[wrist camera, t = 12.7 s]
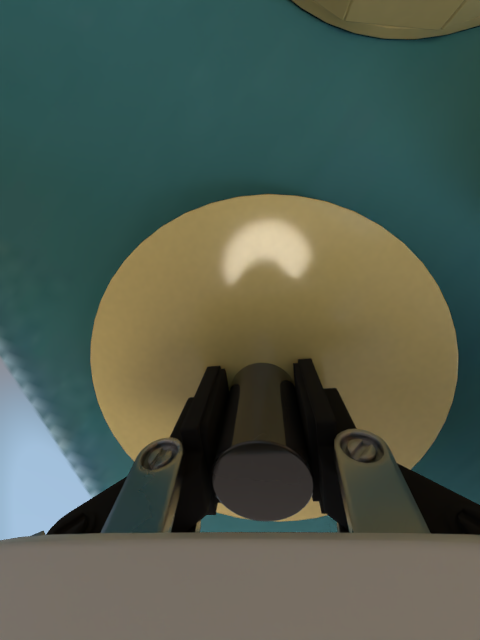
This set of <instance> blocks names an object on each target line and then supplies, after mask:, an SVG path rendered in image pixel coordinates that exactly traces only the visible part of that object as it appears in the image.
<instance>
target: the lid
mask: <svg viewBox="0 0 480 640" xmlns="http://www.w3.org/2000/svg"><path fill="white" fill-rule="evenodd" d="M458 356H459V355H458V347H457V338H456V331H455V327H454V324H453V320H452V317H451V314H450V310H449V307H448V305H447V303H446V301H445V299H444V297H443V295H442V292H441V290H440V288H439V286H438V284H437V283H436V281H435V280H434V278H433V277H432V276H431V274H430V273H429V271H428V270H427V268H426V267H425V266H424V264H423V263H422V261H421V260H420V259H419V258H418V257H417V256H416V255H415V254H414V253H413V252H412V251H411V250H410V249H409V248H408V247H407V246H406V245H405V244H404V243H403V242H402V241H401V240H399V239H398V238H397V237H395V236H394V235H393V234H391V233H390V232H389V231H387V230H386V229H385V228H383V227H382V226H381V225H379V224H377V223H375V222H373V221H372V220H370V219H368V218H366V217H364V216H362V215H360V214H359V213H357V212H355V211H352V210H349V209H347V208H344V207H341V206H338V205H335V204H333V203H330V202H327V201H322V200H317V199H313V198H308V197H303V196H297V195H280V194H261V195H249V196H239V197H234V198H230V199H226V200H221V201H217V202H213V203H210V204H207V205H205V206H202V207H199V208H197V209H194V210H192V211H189V212H187V213H184V214H183V215H181V216H179V217H177V218H176V219H174V220H172V221H170V222H169V223H167V224H165V225H163V226H162V227H160V228H159V229H158V230H157V231H155V232H154V233H153V234H152V235H150V236H149V237H148V238H146V239H145V240H144V241H143V242H141V244H140V245H139V246H138V247H137V248H136V249H135V250H134V251H133V252H132V253H131V254H130V255H129V256H128V257H127V258H126V259H125V261H124V262H123V263H122V265H121V266H120V268H119V269H118V271H117V272H116V273H115V275H114V276H113V278H112V279H111V281H110V283H109V285H108V287H107V289H106V291H105V293H104V295H103V297H102V299H101V302H100V305H99V308H98V311H97V314H96V317H95V321H94V326H93V332H92V338H91V361H90V363H91V371H92V379H93V385H94V389H95V393H96V397H97V400H98V403H99V406H100V408H101V411H102V413H103V416H104V418H105V420H106V422H107V424H108V426H109V428H110V429H111V431H112V433H113V435H114V437H115V438H116V439H117V441H118V442H119V444H120V445H121V446H122V448H123V449H124V451H125V452H126V453H127V454H128V455H129V456H130V457H131V459H132V460H133V461H134V462H135V460H136V458H137V456H138V454H139V453H140V451H141V450H142V449H143V448H144V447H146V446H147V445H148V444H150V443H152V442H153V441H156V440H158V439H162V438H169V437H170V435H171V433H172V431H173V429H174V427H175V425H176V423H177V421H178V418H179V416H180V414H181V412H182V410H183V408H184V406H185V404H186V402H187V400H188V398H190V397H194V396H195V394H196V391H197V389H198V387H199V384H200V382H201V380H202V378H203V375H204V373H205V371H206V369H207V367H210V366H221V369H225V370H226V374H227V381H228V387H229V395H228V400H227V404H226V409H225V413H224V417H223V422H222V426H221V431H220V435H219V439H218V444H217V448H216V453H215V457H214V461H213V466H212V470H211V484H212V488H213V491H214V493H215V495H216V497H217V498H218V500H219V501H220V502H221V503H218V505H217V510H216V512H217V513H220V514H225V515H229V516H233V517H237V518H243V519H250V520H256V521H277V522H279V521H298V520H305V519H312V518H318V517H322V516H326V515H328V514H322V513H321V508H320V504H319V501H313V500H312V494H313V491H314V483H315V481H314V475H313V470H312V465H311V461H310V456H309V451H308V446H307V442H306V437H305V432H304V428H303V423H302V418H301V413H300V409H299V404H298V399H297V395H296V390H295V381H294V369H293V363H298V359H309V358H311V359H312V361H313V364H314V366H315V369H316V371H317V374H318V376H319V379H320V381H321V384H322V386H323V389H324V388H337V390H338V392H339V394H340V396H341V398H342V400H343V402H344V404H345V406H346V408H347V410H348V412H349V414H350V416H351V418H352V420H353V422H354V424H355V426H356V428H357V429H362V430H366V431H369V432H372V433H374V434H376V435H378V436H379V437H380V438H382V439H383V440H384V441H385V442H386V443H387V445H388V446H389V448H390V450H391V452H392V454H393V456H394V458H395V460H396V462H397V463H398V464H400V465H402V466H404V467H406V468H408V469H410V470H411V469H412V468H413V467H414V466H415V465H416V464H417V463H418V462H419V461H420V460H421V458H422V457H423V456H424V455H425V453H426V452H427V451H428V449H429V448H430V447H431V445H432V444H433V442H434V441H435V440H436V438H437V436H438V434H439V432H440V430H441V429H442V427H443V425H444V423H445V421H446V418H447V416H448V413H449V410H450V407H451V405H452V402H453V398H454V393H455V388H456V383H457V379H458Z"/></svg>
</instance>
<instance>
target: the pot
mask: <svg viewBox="0 0 480 640" xmlns="http://www.w3.org/2000/svg"><path fill="white" fill-rule="evenodd" d="M292 1H293V2H294V3H296V4H297V5H298V6H299V7H301V8H302V9H304V10H305V11H307V12H309V13H311V14H312V15H314V16H316V17H318V18H319V19H321V20H323V21H324V22H326V23H328V24H331V25H334V26H336V27H339V28H342V29H344V30H347V31H350V32H352V33H356V34H361V35H366V36H372V37H377V38H382V39H420V38H427V37H435V36H442V35H448V34H451V33H455V32H458V31H462V30H465V29H468V28H472V27H475V26H479V25H480V0H292Z"/></svg>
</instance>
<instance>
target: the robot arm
mask: <svg viewBox="0 0 480 640" xmlns="http://www.w3.org/2000/svg"><path fill="white" fill-rule="evenodd" d="M293 369H294V381H295V390H296V395H297V399H298V404H299V409H300V413H301V418H302V423H303V428H304V432H305V437H306V442H307V446H308V451H309V456H310V461H311V465H312V470H313V475H314V481H315V483H314V491H313V494H312V500H313V501H319V504H320V508H321V513H322V514H328V515H329V516H330V517H331V518H333V519H334V520H335V521H336V522H337V530H338V533H317V532H201V533H200V529H201V521H200V520H201V519H202V518H203V517H204V516H206V515H216V510H217V505H218V503H221V502H220V501H219V500H218V498H217V497H216V495H215V493H214V491H213V488H212V484H211V470H212V466H213V461H214V457H215V453H216V448H217V444H218V439H219V435H220V431H221V426H222V422H223V417H224V413H225V409H226V404H227V400H228V395H229V387H228V381H227V374H226V370H225V369H221V366H210V367H207V369H206V371H205V373H204V375H203V378H202V380H201V382H200V384H199V387H198V389H197V391H196V394H195V396H194V397H190V398H188V400H187V402H186V404H185V406H184V408H183V410H182V412H181V414H180V416H179V418H178V421H177V423H176V425H175V427H174V429H173V431H172V433H171V435H170V437H169V438H162V439H158V440H156V441H153V442H152V443H150V444H148V445H147V446H146V447H144V448H143V449H142V450H141V451H140V453H139V454H138V456H137V458H136V460H135V462H134V464H133V466H132V468H131V470H130V472H129V474H128V476H127V477H125V478H124V479H122V480H121V481H119V482H117V483H116V484H114V485H113V486H111V487H109V488H108V489H106V490H105V491H103V492H101V493H100V494H98V495H97V496H95V497H93V498H92V499H90V500H89V501H87V502H85V503H84V504H82V505H81V506H79V507H77V508H76V509H74V510H73V511H71V512H69V513H68V514H67V515H65V516H64V517H62V518H61V519H60V520H59V521H58V522H57V523H56V524H55V525H54V526H53V527H52V528H51V529H50V530H49V532H48V533H47V534H46V535H45V533H44V531H41V532H39V533H37V534H34V535H32V536H28V537H18V538H12V539H6V540H0V640H480V505H479V504H477V503H475V502H473V501H471V500H469V499H467V498H465V497H463V496H461V495H459V494H457V493H455V492H453V491H451V490H449V489H447V488H445V487H443V486H441V485H439V484H437V483H435V482H433V481H431V480H429V479H427V478H425V477H423V476H422V475H420V474H418V473H416V472H414V471H412V470H410V469H408V468H406V467H404V466H402V465H400V464H398V463H397V462H396V460H395V458H394V456H393V454H392V452H391V450H390V448H389V446H388V445H387V443H386V442H385V441H384V440H383V439H382V438H380V437H379V436H378V435H376V434H374V433H372V432H369V431H366V430H362V429H357V428H356V426H355V424H354V422H353V420H352V418H351V416H350V414H349V412H348V410H347V408H346V406H345V404H344V402H343V400H342V398H341V396H340V394H339V392H338V390H337V388H324V389H323V386H322V384H321V381H320V379H319V376H318V374H317V371H316V369H315V366H314V364H313V361H312V359H311V358H309V359H298V363H293Z"/></svg>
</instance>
